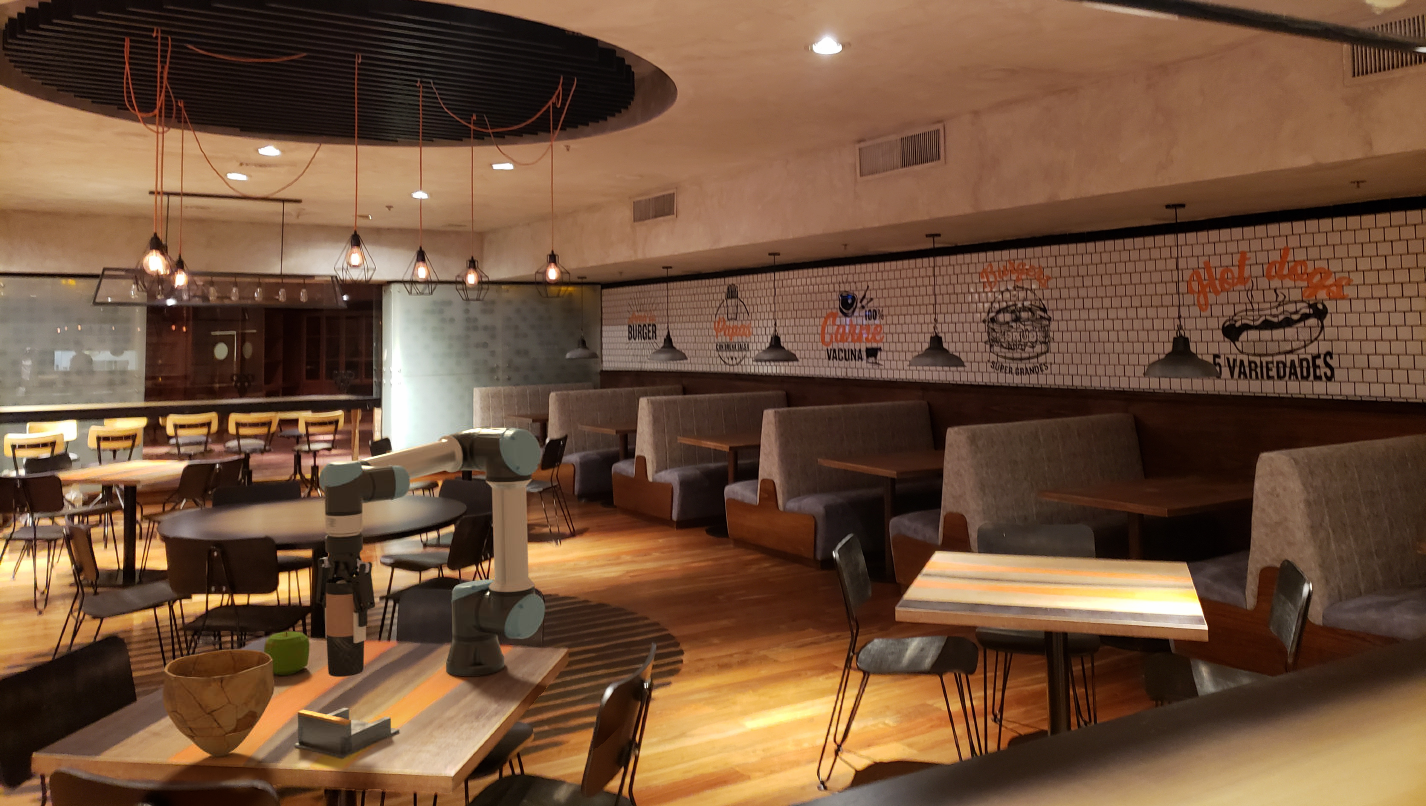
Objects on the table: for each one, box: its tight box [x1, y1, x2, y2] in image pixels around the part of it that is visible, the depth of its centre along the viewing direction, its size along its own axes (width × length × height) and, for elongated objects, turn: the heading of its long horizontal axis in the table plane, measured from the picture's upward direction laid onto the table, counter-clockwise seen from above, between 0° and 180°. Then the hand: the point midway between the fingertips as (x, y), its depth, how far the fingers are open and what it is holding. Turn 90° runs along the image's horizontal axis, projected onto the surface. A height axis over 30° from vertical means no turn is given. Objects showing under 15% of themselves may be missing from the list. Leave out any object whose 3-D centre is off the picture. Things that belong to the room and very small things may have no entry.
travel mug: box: [325, 575, 365, 678], centre depth 210 cm, size 8×8×20 cm
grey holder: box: [294, 707, 400, 760], centre depth 211 cm, size 16×14×7 cm
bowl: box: [162, 648, 275, 758], centre depth 202 cm, size 21×20×20 cm
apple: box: [263, 630, 311, 676], centre depth 258 cm, size 11×11×11 cm
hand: (345, 638), depth 210 cm, fingers closed on travel mug, 8 cm apart
